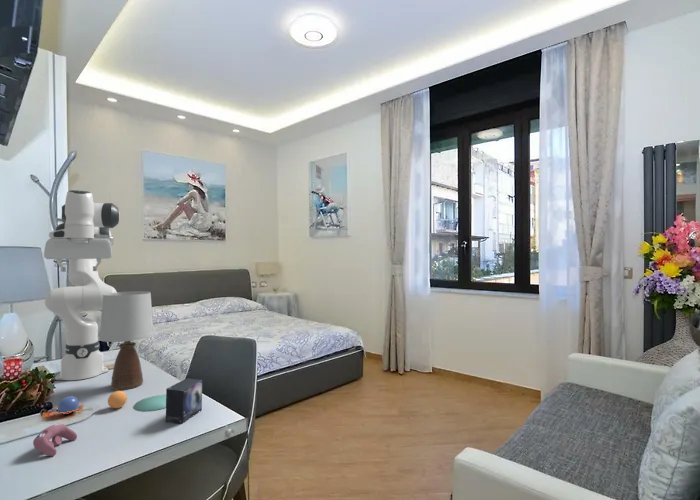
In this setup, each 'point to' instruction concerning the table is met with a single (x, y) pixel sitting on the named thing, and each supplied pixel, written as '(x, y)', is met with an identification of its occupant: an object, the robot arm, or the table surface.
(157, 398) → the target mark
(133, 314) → the lamp
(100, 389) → the table surface
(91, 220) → the robot arm
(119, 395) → the object ball
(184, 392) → the small box
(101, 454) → the table surface
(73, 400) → the blue ball
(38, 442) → the video game controller
